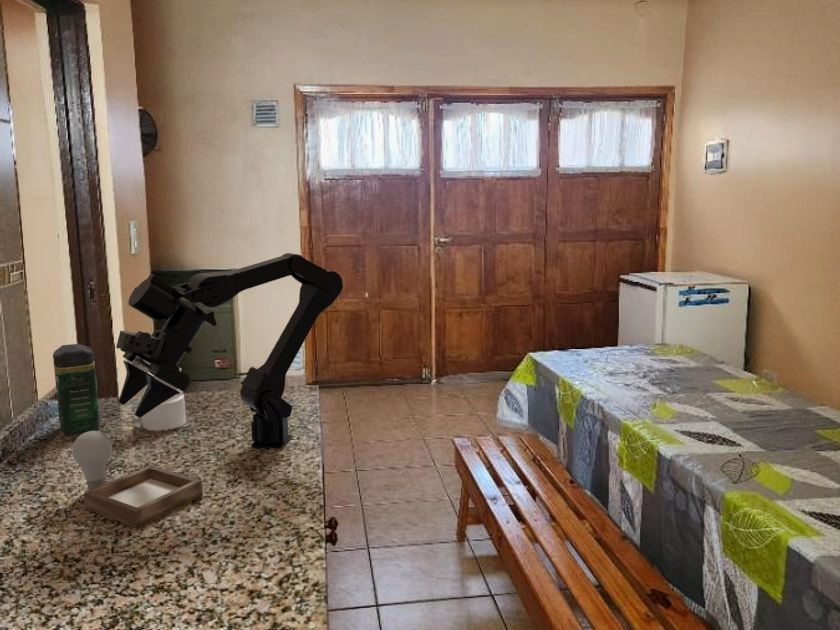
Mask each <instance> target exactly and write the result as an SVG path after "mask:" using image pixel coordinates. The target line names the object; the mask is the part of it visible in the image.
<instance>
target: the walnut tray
mask: <svg viewBox="0 0 840 630" xmlns="http://www.w3.org/2000/svg"><path fill="white" fill-rule="evenodd" d="M83 496H84V497H83V498H84V508H85V510H87V509H88V511H89V510H91V511H90V512H92V511H93V513H95V512H96V513H95V514H97V513H98V514H97V515H100V514H101V516H103V515H104V517H105V516H107V517H106V518H108V517H110V518H109V519H111V518H112V519H111V520H113V519H115V520H114V521H116V520H118V521H117V522H119V521H120V522H119V523H121V522H123V523H122V524H124V523H126V524H125V525H127V524H128V525H127V526H129V525H131V526H130V527H132V526H133V527H132V528H135V529H140V528H141V527H143V526H145V525H148V524H149V523H151V522H153V521H154V520H157V519H159V518H161V517H164V516H165V515H167V514H168V512H169V513H171V512H173V511H175V510H177V509H179V508H181V507H184V506H185V505H187V504H189V503H190V502H189V501H191V502H193V501H194V499H195V500H197V499H199V498H201V497H203V484H202V480H201V479H198V478H195V477H191V476H188V475H185V474H181V473H177V472H176V471H172V470H168V469H166V468H165V469H164V468H162V467H158V466H155V465H152V464H151V465H148V466H146V467H143V468H140V469H139V470H136V471H133V472H132V473H128V474H127V475H123V476H121V477H119V478H117V479H114V480H112V481H109V482H107V483H104V485H102V486H100V487H97V488H95V489H93V490H90V491H89V490H88V491H86V492H84V493H83ZM200 496H201V497H200ZM198 497H199V498H198ZM196 498H197V499H196ZM192 500H193V501H192ZM188 502H189V503H188ZM186 503H187V504H186ZM184 504H185V505H184ZM180 506H181V507H180ZM178 507H179V508H178ZM176 508H177V509H176ZM172 510H173V511H172ZM170 511H171V512H170Z"/></svg>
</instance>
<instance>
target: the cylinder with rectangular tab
mask: <svg viewBox="0 0 840 630" xmlns="http://www.w3.org/2000/svg"><path fill="white" fill-rule="evenodd" d="M179 368H180V369H179V371H181V372H182V368H181V367H179ZM148 373H149V374H150V372H148ZM151 375H152V374H151ZM152 376H154V375H152ZM154 377H155V376H154ZM147 387H148V384H147V385H146V386H145V387H144V388H143V389H142V390H141V391H140V400H141V399H142V397H143V395H144V393H145V391H146V389H147ZM177 391H179V392H180V394H176V395H175V396H173V397H171V398H170V399H168V400H166V401H165V402H163V403H161V404H160V405H158V406H157V407H155V408H154V409H152V410H151V411H149V412H148V413H146V414H145V415H144V416H142V418H141V419H142V428H143V429H144V428H145V430H146V429H147V431H150V430H164V431H169V430H170V429H171V430H174V428H175V429H178V428H180V427H182V426H184V425H185V424H186V422H187V417H186V406H185V405H186V404H185V395H184V392H183V391H181V390H179V389H177ZM168 429H169V430H168Z"/></svg>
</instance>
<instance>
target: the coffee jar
mask: <svg viewBox="0 0 840 630" xmlns="http://www.w3.org/2000/svg"><path fill="white" fill-rule="evenodd" d="M93 351H94V350H92V348H91V347H89V346H86V345H83V343H75V344H74V343H72V344H63V345H61V346H60V347H58V348H57V349H56V350H55V351H53V354H52V358H53V359H52V360H53V371H54V377H55V378H54V379H55V388H56V390H55V391H56V398H57V406H58V407H57V408H58V419H59V427H60V431H61V432H62V433H63V434H66V435H68V434H69V435H70V434H71V435H73V434H75V435H82V434H83V433H85V432H88V431H96V430H97V429H99V428H100V425H101V419H100V407H99V397H98V381H97V374H96V373H97V372H96V366H95V363H96V362H95V355H94V352H93Z"/></svg>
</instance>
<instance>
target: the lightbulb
mask: <svg viewBox="0 0 840 630" xmlns="http://www.w3.org/2000/svg"><path fill="white" fill-rule="evenodd" d="M112 444H113V443H112V441H111V439H110V438H109V437H108V435H106V433H103V432H101V431H98V430H91V431H88V432H85V433H83V434H79V436H78V437H77V438H76V439H75V440H74V442H73V444H72V452H71V453H72V456H73V458H74V460H75V462H77V464H78V465H79V466H80V468H81V470H82V471H83V474H84V479H85V480H86V483H87V484H86V485H87V488H88V491H90V490H93V489H95V488H97V487H100V486H102V485H105V476H106V466H107V463H108V460H109V458H110V456H111V453H112V451H113V446H112Z"/></svg>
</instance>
